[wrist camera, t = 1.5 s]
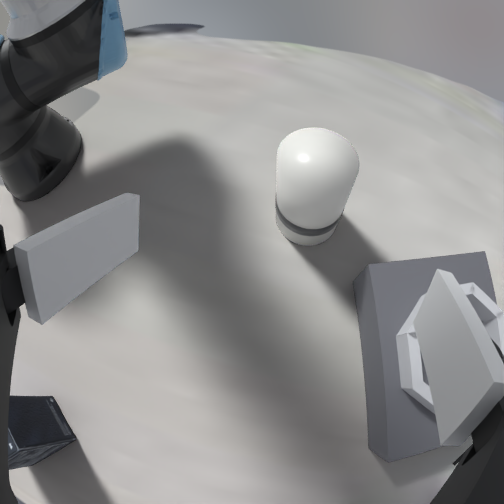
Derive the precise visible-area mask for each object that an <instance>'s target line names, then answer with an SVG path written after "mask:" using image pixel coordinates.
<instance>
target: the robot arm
mask: <svg viewBox="0 0 504 504" xmlns="http://www.w3.org/2000/svg"><path fill="white" fill-rule="evenodd" d="M0 1H1V3H2V4H3V6H4V7H5V9H6V10H7V12H8V13H9V15H10V17H11V19H10V22H9V25H8V29H7V33H6V34H7V37H8V39H7V40H4V36H2V35H0V175H1V177H2V179H3V181H4V184H5V187H6V188H7V190H8V191H9V192H10V193H11V194H12V195H13V196H15V197H16V198H17V199H19V200H22V201H31V200H35V199H37V198H39V197H41V196H43V195H45V194H46V193H48V192H49V191H51V190H52V189H53V188H54V187H55V186H56V185H57V184H59V183H60V181H61V180H62V179H63V178H64V177H65V176H66V175H67V173H68V172H69V170H70V169H71V167H72V166H73V164H74V162H75V160H76V158H77V156H78V153H79V150H80V146H81V136H80V133H79V131H78V129H77V128H76V127H75V125H74V124H73V122H71V120H69V119H67V118H66V117H63V116H61V115H60V114H59V113H57V112H56V111H55V110H53V109H51V108H50V107H48V106H47V104H49V103H51V102H53V101H54V100H56V99H58V98H60V97H62V96H64V95H66V94H68V93H70V92H72V91H74V90H76V89H78V88H80V87H82V86H84V85H86V84H88V83H91V82H93V81H95V80H100V79H101V78H102V77H103V76H105V75H107V74H109V73H111V72H113V71H115V70H118V69H119V68H121V67H122V66H123V65H124V64H125V62H126V60H127V47H126V41H125V35H124V29H123V23H122V18H121V12H120V7H119V1H118V0H0ZM139 207H140V195H136V194H131V193H124V194H122V195H119V196H117V197H114V198H112V199H110V200H107V201H105V202H103V203H100V204H98V205H96V206H94V207H91V208H89V209H87V210H85V211H82V212H80V213H78V214H76V215H74V216H71V217H69V218H67V219H65V220H63V221H61V222H59V223H57V224H55V225H53V226H50V227H48V228H46V229H44V230H42V231H40V232H38V233H36V234H34V235H32V236H30V237H29V238H27V239H25V240H23V241H21V242H19V243H17V244H15V245H13V246H14V247H13V248H12V249H10V250H8V251H7V250H6V244H5V238H4V231H3V226H2V225H0V504H18V501H17V499H16V497H15V495H14V493H13V491H12V489H11V486H10V481H9V468H8V413H9V397H10V385H11V375H12V367H13V359H14V352H15V346H16V339H17V334H18V328H19V323H20V318H21V313H20V309H19V307H20V306H21V305H22V304H24V303H25V305H26V309H27V312H28V316H29V317H30V318H31V319H33V320H35V321H36V322H38V323H40V324H42V325H43V324H44V323H45V322H46V321H47V320H49V319H50V318H51V317H52V316H54V315H55V314H56V313H57V312H58V311H60V310H61V309H62V308H63V307H65V306H66V305H67V304H68V303H70V302H71V301H72V300H74V299H75V298H76V297H77V296H79V295H80V294H81V293H83V292H84V291H85V290H86V289H88V288H89V287H90V286H92V285H93V284H94V283H96V282H97V281H98V280H99V279H101V278H102V277H103V276H105V275H106V274H107V273H109V272H110V271H111V270H113V269H114V268H115V267H117V266H118V265H119V264H121V263H122V262H124V261H125V260H126V259H128V258H129V257H130V256H132V255H133V254H135V253H136V252H137V251H139ZM413 325H414V328H415V332H416V335H417V339H418V343H419V346H420V350H421V354H422V358H423V362H424V366H425V370H426V374H427V378H428V382H429V387H430V391H431V396H432V401H433V405H434V410H435V416H436V421H437V426H438V432H439V438H440V445H441V446H460V445H461V444H462V443H463V442H464V441H465V440H466V439H467V438H468V437H469V436H470V435H472V439H473V444H472V445H471V446H470V447H469V448H468V449H467V450H466V451H465V452H464V453H463V454H462V455H461V456H460V457H459V458H458V459H457V460H456V461H455V462H454V463H453V464H454V465H456V464H457V463H458V462H459V463H458V465H457V466H456V468H455V469H454V471H453V472H452V474H451V475H450V477H449V478H448V480H447V481H446V483H445V484H444V485H443V487H442V488H441V490H440V491H439V492H438V494H437V495H436V496H435V498H434V499H433V500H432V502H431V503H430V504H504V355H503V354H502V352H501V350H500V348H499V346H498V345H497V344H496V343H495V342H494V341H493V340H492V339H491V338H490V336H489V334H488V332H487V331H486V329H485V327H484V325H483V323H482V322H481V320H480V318H479V316H478V315H477V313H476V311H475V309H474V308H473V306H472V304H471V303H470V301H469V299H468V298H467V296H466V294H465V293H464V291H463V290H462V288H461V286H460V285H459V283H458V282H457V280H456V279H455V277H454V275H453V274H452V273H451V272H447V271H444V270H440V269H437V270H436V272H435V275H434V277H433V279H432V282H431V284H430V287H429V289H428V291H427V293H426V296H425V298H424V300H423V302H422V305H421V307H420V309H419V311H418V313H417V315H416V317H415V319H414V322H413Z"/></svg>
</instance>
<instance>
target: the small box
mask: <svg viewBox="0 0 504 504" xmlns="http://www.w3.org/2000/svg"><path fill="white" fill-rule="evenodd" d="M75 440H76V437H75V436H74V434H73V432H72V431H71V429H70V427H69V426H68V424H67V422H66V420H65V418H64V417H63V415H62V413H61V411H60V409H59V407H58V405H57V403H56V401H55V400H54V398H53V396H10V397H9V413H8V468H9V470H11V469H16V468H21V467H27V466H32V465H34V464H36V463H37V462H39V461H41V460H43V459H45V458H46V457H48V456H50V455H51V454H53V453H55V452H57V451H59V450H60V449H62V448H63V447H65V446H67V445H68V444H70V443H71V442H73V441H75Z"/></svg>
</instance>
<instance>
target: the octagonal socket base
mask: <svg viewBox="0 0 504 504" xmlns="http://www.w3.org/2000/svg"><path fill="white" fill-rule="evenodd" d="M437 269H440V270H444V271H447V272H451V273H452V274H453V275H454V277H455V279H456V280H457V282H458V283H459V285H460V286H461V288H462V290H463V291H464V293H465V294H466V296H467V298H468V299H469V301H470V303H471V304H472V306H473V308H474V309H475V311H476V313H477V315H478V316H479V318H480V320H481V322H482V323H483V325H484V327H485V329H486V331H487V332H488V334H489V336H490V338H491V339H492V340H493V341H494V342H495V343H496V344H497V345H498V346H499V348H500V350H501V352H502V354H503V355H504V313H503V310H502V309H501V308H500V307H499V306H498V305H497V303H496V297H495V292H494V287H493V283H492V278H491V274H490V270H489V265H488V261H487V258H486V254H485V251H482V252H474V253H466V254H457V255H448V256H440V257H431V258H422V259H412V260H403V261H393V262H384V263H374V264H368V265H367V267H366V268H365V269H364V270H363V271H362V272H361V273H360V275H359V276H358V277H357V278H356V279H355V280H354V281H353V286H354V292H355V299H356V306H357V314H358V322H359V330H360V338H361V347H362V357H363V367H364V378H365V390H366V404H367V422H368V446H369V449H370V450H372V451H373V452H374V453H376V454H377V455H378V456H380V457H381V458H382V459H384V460H385V461H386V462H392V461H396V460H400V459H403V458H407V457H410V456H414V455H417V454H420V453H423V452H427V451H430V450H433V449H436V448H439V447H441V445H440V438H439V432H438V426H437V421H436V416H435V410H434V405H433V401H432V396H431V391H430V387H429V382H428V378H427V374H426V370H425V366H424V362H423V358H422V354H421V350H420V346H419V343H418V339H417V335H416V332H415V328H414V325H413V322H414V319H415V317H416V315H417V313H418V311H419V309H420V307H421V305H422V302H423V300H424V298H425V296H426V293H427V291H428V289H429V287H430V284H431V282H432V279H433V277H434V275H435V272H436V270H437Z"/></svg>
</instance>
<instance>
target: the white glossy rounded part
mask: <svg viewBox="0 0 504 504" xmlns="http://www.w3.org/2000/svg"><path fill="white" fill-rule="evenodd" d="M358 171H359V158H358V155H357V152H356V150H355V148H354V147H353V146H352V144H351V143H350V142H349V141H348V140H347V139H345V138H344V137H343V136H341V135H340V134H338V133H336V132H333V131H331V130H328V129H324V128H314V127H311V128H303V129H300V130H297V131H294V132H292V133H291V134H289V135H288V136H286V137H285V138H284V139H283V141H282V142H281V143H280V145H279V147H278V151H277V177H276V223H277V226H278V228H279V230H280V231H281V233H282V234H283V235H284V236H285V237H286V238H287V239H288V240H290V241H292V242H294V243H296V244H299V245H304V246H312V245H317V244H320V243H322V242H324V241H326V240H327V239H328V238H329V237H330V236H331V235H332V234H333V233H334V231H335V229H336V226H337V224H338V222H339V220H340V218H341V216H342V213H343V211H344V207H345V205H346V202H347V200H348V197H349V195H350V192H351V190H352V187H353V185H354V182H355V180H356V177H357V175H358Z"/></svg>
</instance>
